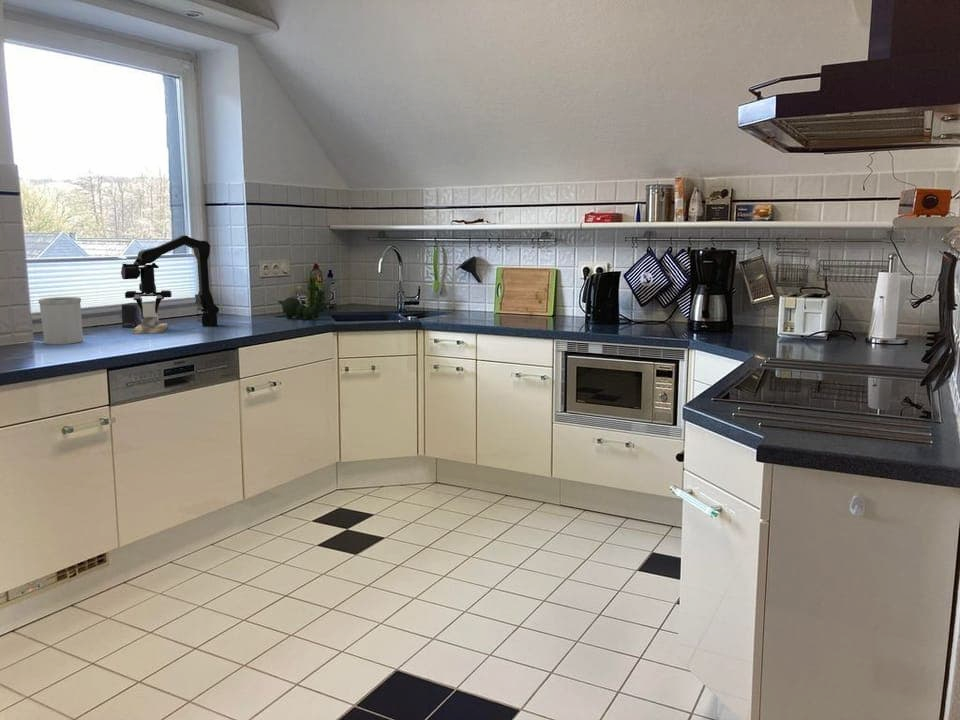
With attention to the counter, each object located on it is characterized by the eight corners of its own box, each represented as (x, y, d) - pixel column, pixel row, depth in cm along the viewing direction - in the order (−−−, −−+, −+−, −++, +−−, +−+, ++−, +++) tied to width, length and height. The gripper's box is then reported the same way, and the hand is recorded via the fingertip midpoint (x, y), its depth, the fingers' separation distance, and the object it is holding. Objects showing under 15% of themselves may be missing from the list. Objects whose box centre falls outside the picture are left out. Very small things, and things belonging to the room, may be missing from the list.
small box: (135, 327, 353) (134, 304, 351) (121, 327, 353) (120, 304, 352) (146, 324, 364) (144, 302, 362) (132, 324, 364) (131, 302, 362)
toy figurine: (325, 322, 394) (281, 316, 399) (328, 285, 390) (283, 279, 396) (317, 324, 385) (272, 318, 390) (319, 287, 381) (274, 281, 387)
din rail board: (167, 326, 357) (166, 314, 356) (162, 332, 336) (161, 320, 335) (139, 327, 354) (138, 315, 353) (132, 333, 333) (131, 320, 332)
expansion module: (156, 315, 347) (155, 301, 346) (155, 316, 342) (154, 302, 341) (144, 315, 346) (143, 301, 345) (143, 317, 340) (142, 303, 339)
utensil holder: (55, 345, 297) (51, 300, 295) (34, 342, 305) (30, 298, 302) (91, 341, 310) (88, 298, 307) (70, 338, 318) (67, 296, 315)
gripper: (171, 277, 351) (173, 311, 354) (127, 277, 346) (129, 312, 349) (169, 278, 341) (171, 313, 344) (123, 279, 336) (126, 314, 338)
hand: (149, 313), depth 344 cm, fingers closed on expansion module, 5 cm apart
